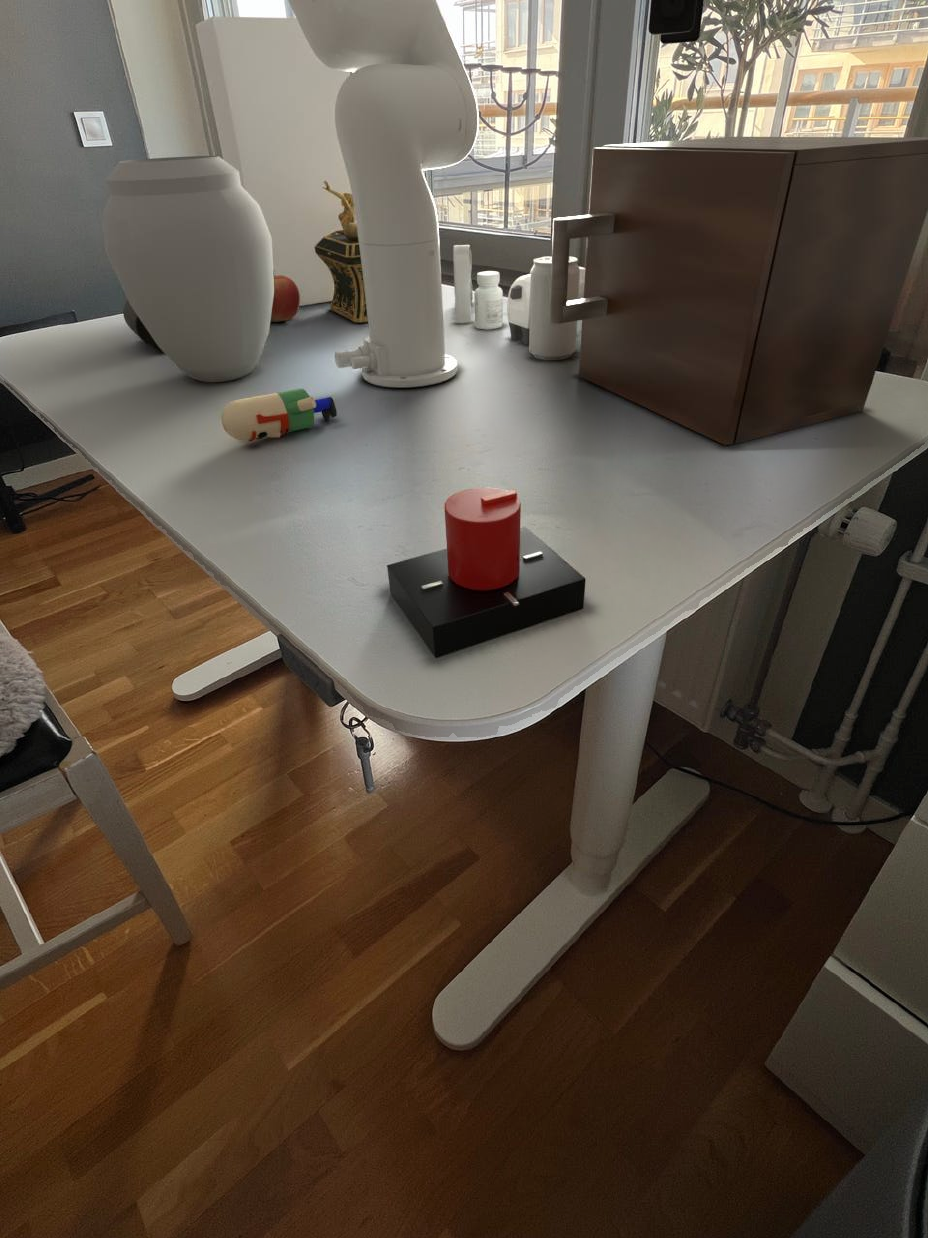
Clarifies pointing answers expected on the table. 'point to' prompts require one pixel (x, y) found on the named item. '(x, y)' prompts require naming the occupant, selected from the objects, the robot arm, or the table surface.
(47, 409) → the table surface
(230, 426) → the toy figurine
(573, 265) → the beverage can
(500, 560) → the red rotary knob
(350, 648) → the table surface
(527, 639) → the table surface
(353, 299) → the decorative box
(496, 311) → the pill bottle
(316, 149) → the storage box
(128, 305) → the end cap
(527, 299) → the giant panda
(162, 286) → the vase
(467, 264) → the handheld gaming console
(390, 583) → the valve panel
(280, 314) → the apple
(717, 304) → the cabinet door
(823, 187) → the cabinet
